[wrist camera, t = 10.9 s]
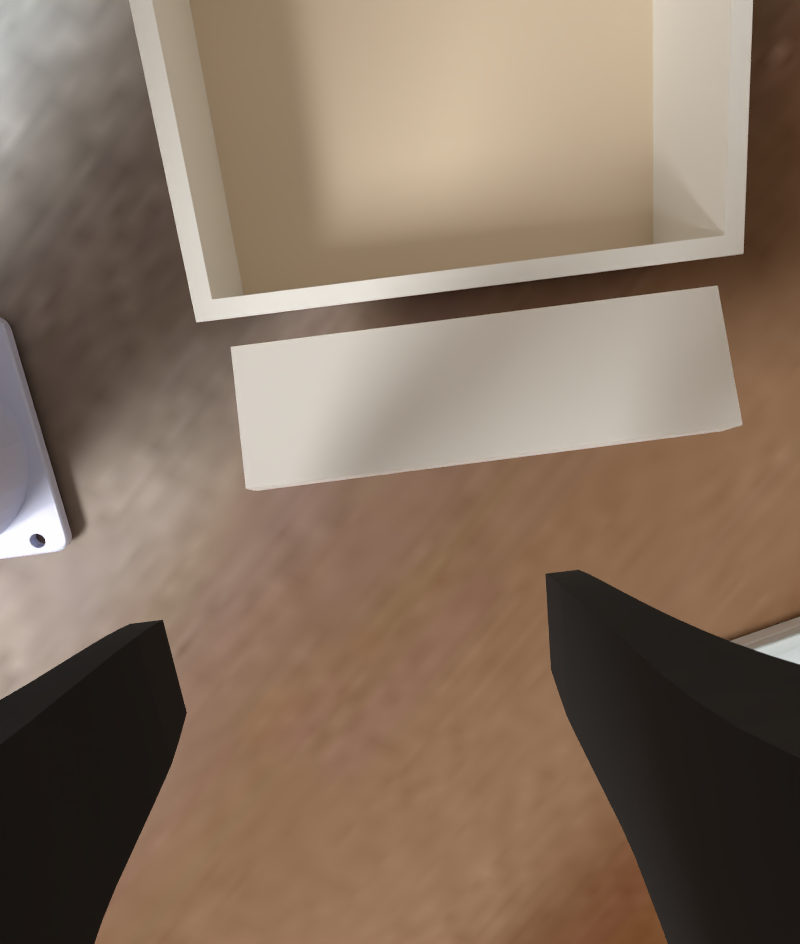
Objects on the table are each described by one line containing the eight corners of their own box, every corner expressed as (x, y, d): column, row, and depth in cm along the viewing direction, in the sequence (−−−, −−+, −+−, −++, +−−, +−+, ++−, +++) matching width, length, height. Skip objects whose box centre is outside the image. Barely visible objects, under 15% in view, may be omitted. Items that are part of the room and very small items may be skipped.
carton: (235, 317, 19) (196, 322, 15) (148, -139, 16) (65, -303, 12) (661, 264, 20) (743, 253, 15) (661, -200, 16) (767, -383, 12)
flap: (230, 346, 15) (241, 358, 16) (246, 488, 15) (256, 490, 16) (717, 285, 15) (697, 300, 16) (742, 425, 15) (720, 431, 16)
